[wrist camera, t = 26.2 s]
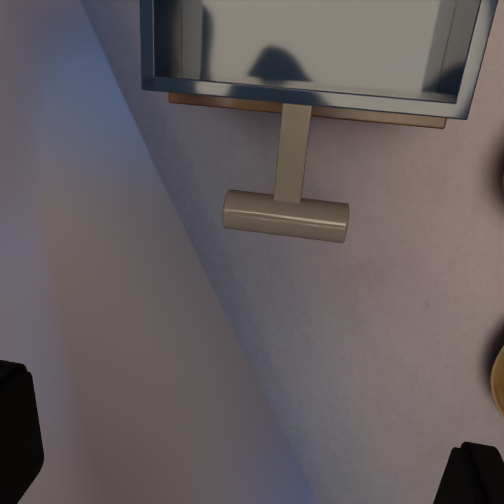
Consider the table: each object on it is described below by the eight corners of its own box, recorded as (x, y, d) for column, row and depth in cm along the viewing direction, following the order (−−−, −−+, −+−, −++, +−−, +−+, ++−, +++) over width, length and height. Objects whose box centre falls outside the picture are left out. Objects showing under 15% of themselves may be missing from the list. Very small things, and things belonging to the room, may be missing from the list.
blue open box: (174, 194, 25) (140, 223, 21) (176, -273, 17) (123, -388, 13) (414, 223, 23) (434, 261, 19) (532, -275, 16) (610, -407, 11)
